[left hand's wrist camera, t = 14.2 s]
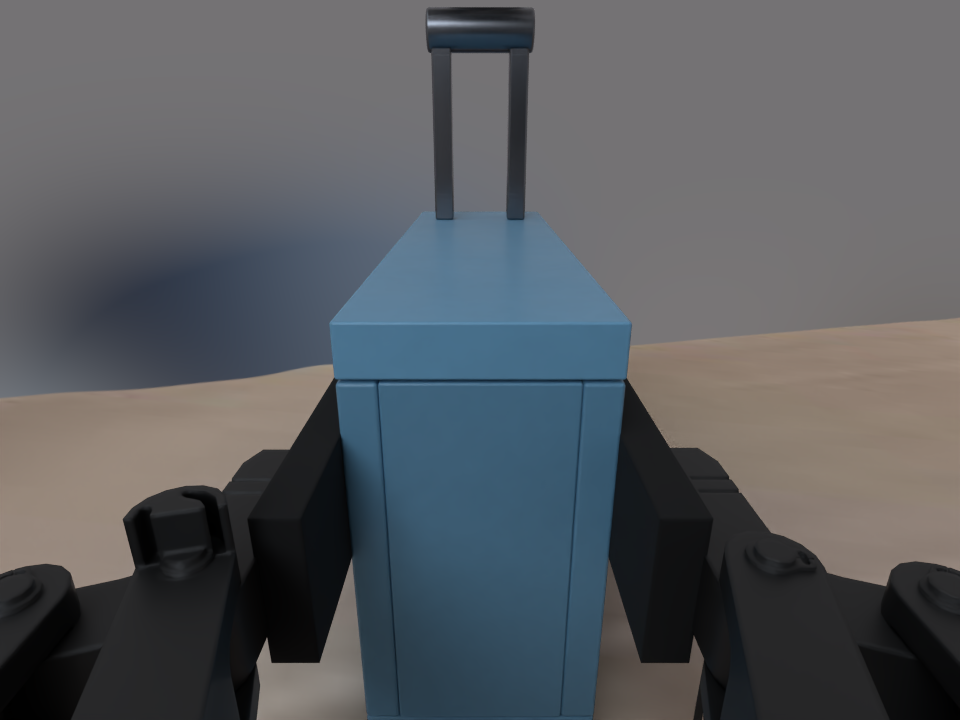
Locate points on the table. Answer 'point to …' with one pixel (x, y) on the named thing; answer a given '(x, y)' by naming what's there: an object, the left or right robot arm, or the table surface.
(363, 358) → the lid
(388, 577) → the chest
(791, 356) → the table surface
